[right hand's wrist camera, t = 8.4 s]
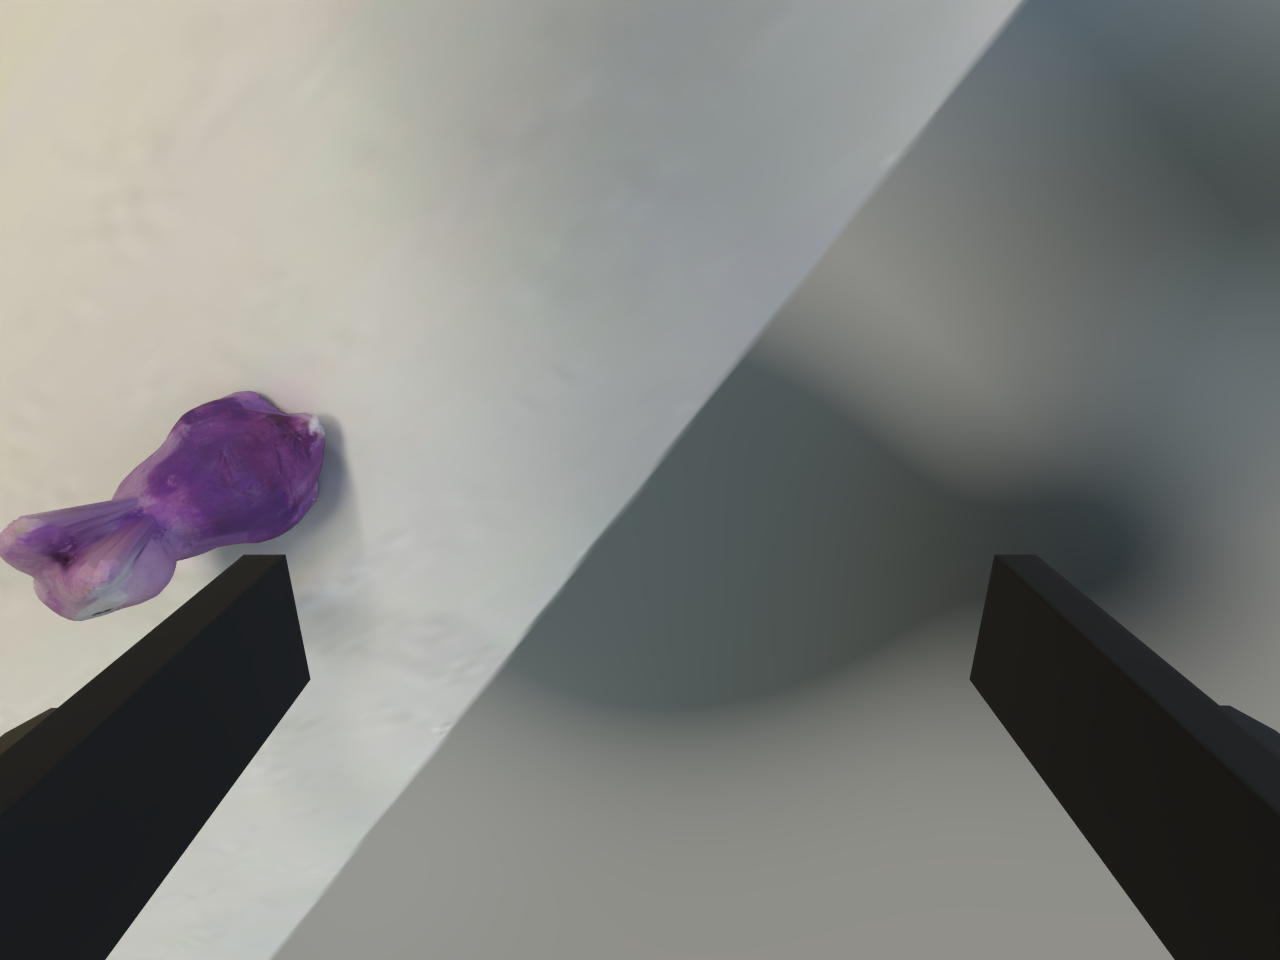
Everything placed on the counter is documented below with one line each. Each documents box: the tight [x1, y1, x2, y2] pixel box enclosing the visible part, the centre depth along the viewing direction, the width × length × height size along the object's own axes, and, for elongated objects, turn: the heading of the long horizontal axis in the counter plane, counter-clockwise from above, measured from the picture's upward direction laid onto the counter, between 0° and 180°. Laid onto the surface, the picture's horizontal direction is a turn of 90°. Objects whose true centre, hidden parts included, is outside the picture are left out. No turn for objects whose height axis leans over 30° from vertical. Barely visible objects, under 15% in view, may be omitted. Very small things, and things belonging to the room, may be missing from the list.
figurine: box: [0, 391, 325, 621], centre depth 34 cm, size 9×10×15 cm
